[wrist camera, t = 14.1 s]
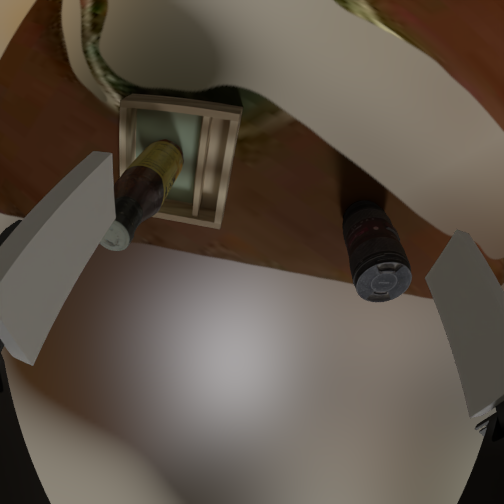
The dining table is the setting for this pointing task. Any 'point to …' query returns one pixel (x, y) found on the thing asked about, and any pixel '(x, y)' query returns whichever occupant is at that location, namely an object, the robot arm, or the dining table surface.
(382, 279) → the camera lens
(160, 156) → the sauce bottle
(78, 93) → the dining table surface
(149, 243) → the dining table surface
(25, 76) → the dining table surface
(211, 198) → the box
